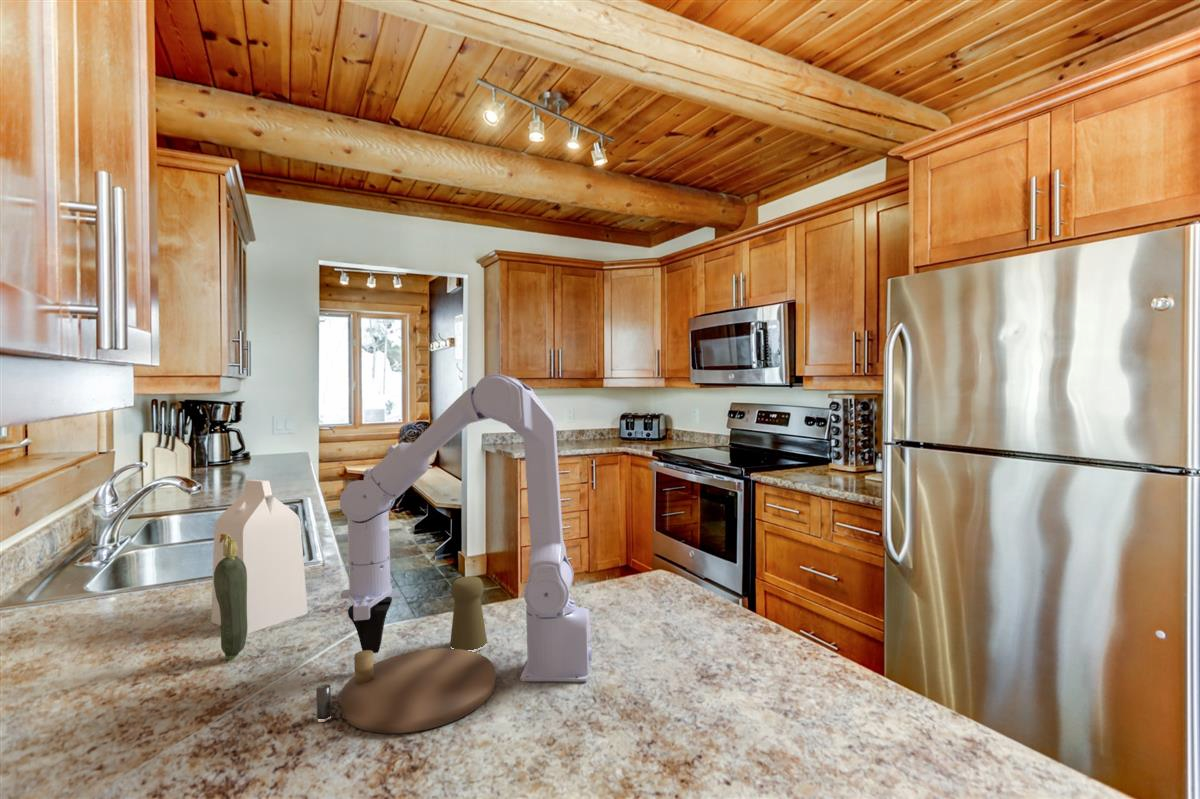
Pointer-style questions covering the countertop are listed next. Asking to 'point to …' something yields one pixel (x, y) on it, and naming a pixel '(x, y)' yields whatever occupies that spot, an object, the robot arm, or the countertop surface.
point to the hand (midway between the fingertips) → (371, 651)
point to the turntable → (416, 689)
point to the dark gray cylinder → (323, 701)
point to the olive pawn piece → (467, 614)
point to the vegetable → (231, 598)
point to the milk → (264, 556)
